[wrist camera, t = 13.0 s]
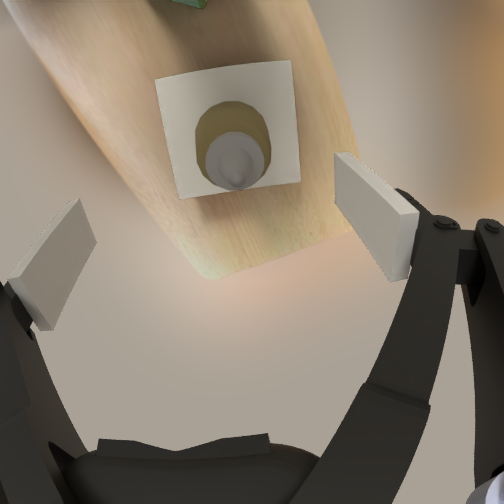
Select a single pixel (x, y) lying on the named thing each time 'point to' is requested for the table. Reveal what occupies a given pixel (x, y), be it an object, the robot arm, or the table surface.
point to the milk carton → (193, 3)
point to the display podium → (230, 89)
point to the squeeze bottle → (232, 145)
